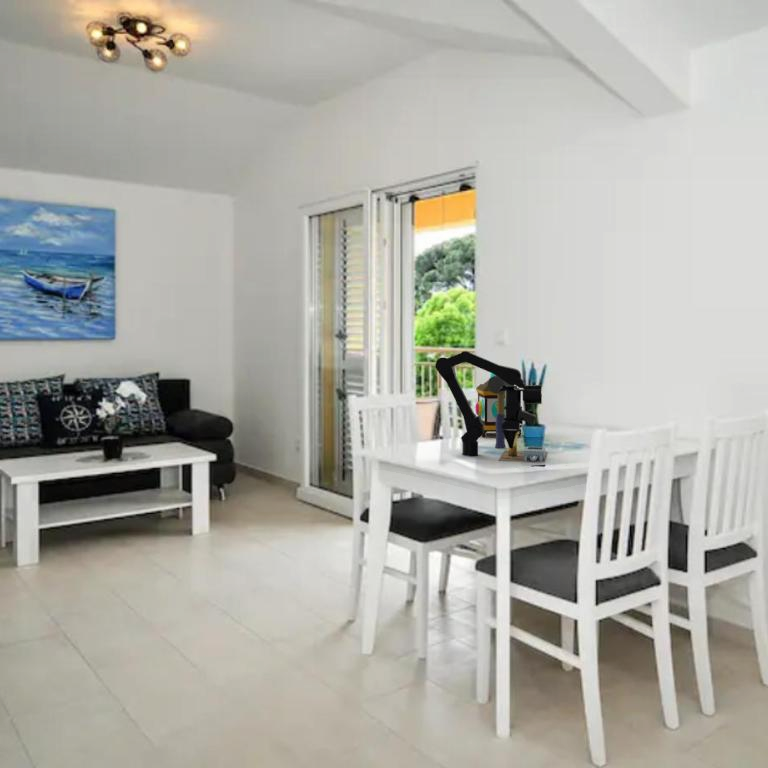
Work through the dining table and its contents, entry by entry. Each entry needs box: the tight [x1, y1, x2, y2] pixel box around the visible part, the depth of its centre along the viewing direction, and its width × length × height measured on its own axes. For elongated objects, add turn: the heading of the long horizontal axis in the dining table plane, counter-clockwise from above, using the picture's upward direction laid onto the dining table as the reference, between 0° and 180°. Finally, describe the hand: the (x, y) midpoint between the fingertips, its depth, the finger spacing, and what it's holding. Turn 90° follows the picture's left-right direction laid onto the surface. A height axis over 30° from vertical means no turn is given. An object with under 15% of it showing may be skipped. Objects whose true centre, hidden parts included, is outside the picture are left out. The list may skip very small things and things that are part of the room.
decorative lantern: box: [474, 373, 522, 439], centre depth 345 cm, size 20×20×30 cm
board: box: [497, 449, 548, 467], centre depth 279 cm, size 24×16×2 cm, turn 166°
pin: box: [507, 431, 519, 456], centre depth 280 cm, size 5×5×9 cm
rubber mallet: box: [487, 375, 514, 449], centre depth 298 cm, size 12×8×30 cm, turn 152°
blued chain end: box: [523, 446, 546, 463], centre depth 274 cm, size 15×7×3 cm, turn 166°
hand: (512, 446), depth 280 cm, fingers open, 9 cm apart
